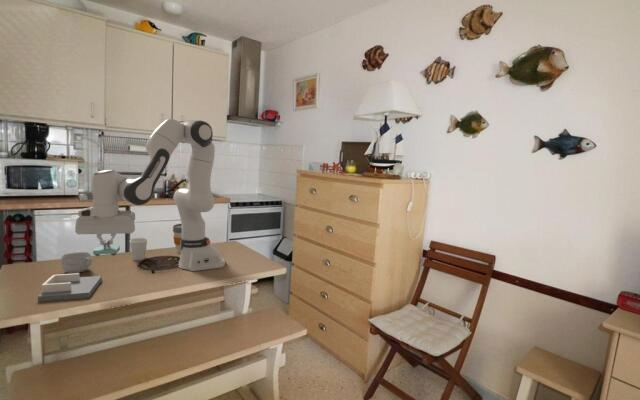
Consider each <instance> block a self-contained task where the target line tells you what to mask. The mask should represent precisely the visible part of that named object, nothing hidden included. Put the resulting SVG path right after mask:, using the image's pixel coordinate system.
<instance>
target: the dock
mask: <svg viewBox="0 0 640 400" xmlns="http://www.w3.org/2000/svg"><path fill="white" fill-rule="evenodd" d="M80 275H81V272H80V273H63V274H62V273H61V274H60V273H58V274H52V276H50V277H49V278H48V279H47V280H45V281H44V282H43V283H42V284H41V285H40V286H41V293H40V294H39V295H38V296H37V302H39V303H40V302H51V301H64V300H74V299H75V300H76V299H86V298H89V299H90V297H91V296H92V295H93V293H94V292H95V290H96V289H97V288H98V286H99V285H100V283H101V282H102V281H103V276H102V275H96V276H95V275H94V276H80Z"/></svg>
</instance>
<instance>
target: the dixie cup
mask: <svg viewBox="0 0 640 400" xmlns="http://www.w3.org/2000/svg"><path fill="white" fill-rule="evenodd" d="M129 243H130V251H131V256H132V260H133V261H142V260H144V259H146V254H147V245H148V238H145V237H138V238H132V239H130V240H129Z"/></svg>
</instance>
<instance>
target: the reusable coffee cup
mask: <svg viewBox="0 0 640 400" xmlns="http://www.w3.org/2000/svg"><path fill="white" fill-rule="evenodd" d="M172 232H173V235H172V236H173V244H174V245H175V251H176V254H180V255H181V245H180V242H181V238H182V225H181V223H176V224H174V225H172Z"/></svg>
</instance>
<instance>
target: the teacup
mask: <svg viewBox="0 0 640 400" xmlns="http://www.w3.org/2000/svg"><path fill="white" fill-rule="evenodd" d="M91 255H92V254H91V253H90V252H82V251H81V252H71V253H69V252H68V253H66V254H63V255H61V268H62V269H63V271H64V272H66V273H67V274H74V273H80V274H81V273H83V272H85V271H87V270H88V269H89V268H90V266H91V265H92V264H93V261H92V258H91Z"/></svg>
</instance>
